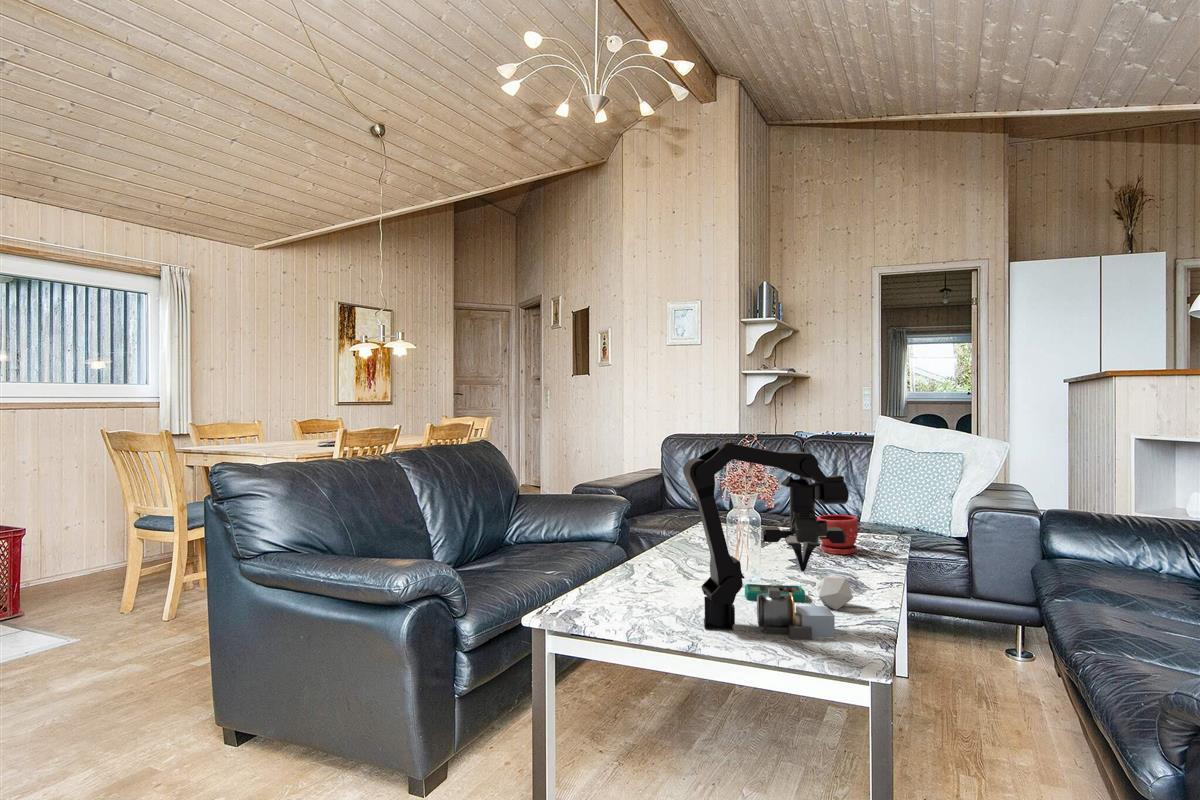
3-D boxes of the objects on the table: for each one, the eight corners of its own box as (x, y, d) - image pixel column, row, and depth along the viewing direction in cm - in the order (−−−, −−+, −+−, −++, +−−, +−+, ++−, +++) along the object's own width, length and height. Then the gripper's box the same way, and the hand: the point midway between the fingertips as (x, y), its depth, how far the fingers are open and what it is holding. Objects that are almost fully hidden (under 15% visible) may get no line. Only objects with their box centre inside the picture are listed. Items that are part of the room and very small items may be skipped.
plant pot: (848, 547, 245) (848, 513, 245) (864, 555, 232) (864, 519, 232) (811, 548, 244) (811, 513, 244) (826, 556, 231) (826, 520, 231)
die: (826, 601, 183) (807, 574, 181) (856, 588, 180) (838, 560, 178) (830, 622, 176) (811, 594, 174) (862, 608, 173) (843, 580, 171)
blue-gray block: (797, 637, 155) (797, 615, 155) (791, 627, 162) (791, 605, 162) (834, 638, 154) (834, 615, 154) (826, 627, 161) (826, 606, 161)
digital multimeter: (806, 603, 181) (806, 592, 181) (746, 602, 183) (746, 590, 183) (802, 595, 188) (802, 584, 188) (744, 594, 190) (743, 582, 190)
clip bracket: (790, 639, 154) (790, 627, 154) (783, 622, 164) (783, 612, 164) (811, 639, 153) (811, 628, 153) (803, 623, 164) (803, 612, 164)
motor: (760, 636, 156) (760, 594, 156) (756, 623, 164) (756, 583, 164) (795, 637, 155) (794, 595, 155) (789, 624, 163) (789, 584, 163)
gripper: (766, 510, 158) (766, 578, 158) (851, 511, 156) (851, 581, 156) (760, 502, 169) (761, 566, 169) (840, 503, 167) (840, 568, 167)
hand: (802, 570), depth 165 cm, fingers closed
